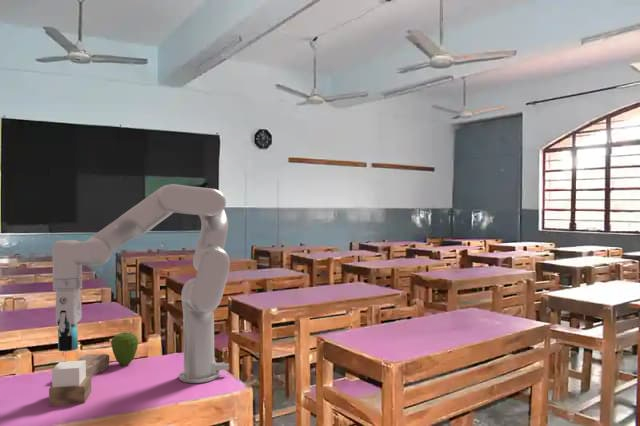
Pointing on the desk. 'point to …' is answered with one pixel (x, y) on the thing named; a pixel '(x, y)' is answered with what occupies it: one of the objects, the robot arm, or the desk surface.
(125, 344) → the green egg shape
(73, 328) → the cylinder
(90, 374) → the brick
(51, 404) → the tower base
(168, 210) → the robot arm
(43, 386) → the desk surface
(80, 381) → the tower top
